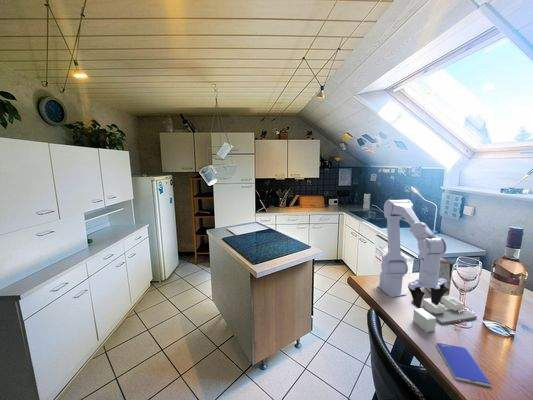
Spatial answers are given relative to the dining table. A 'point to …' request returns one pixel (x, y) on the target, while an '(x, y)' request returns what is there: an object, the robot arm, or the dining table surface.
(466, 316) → the board
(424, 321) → the block
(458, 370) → the hard drive
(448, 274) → the coffee box
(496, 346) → the dining table surface
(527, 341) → the dining table surface
